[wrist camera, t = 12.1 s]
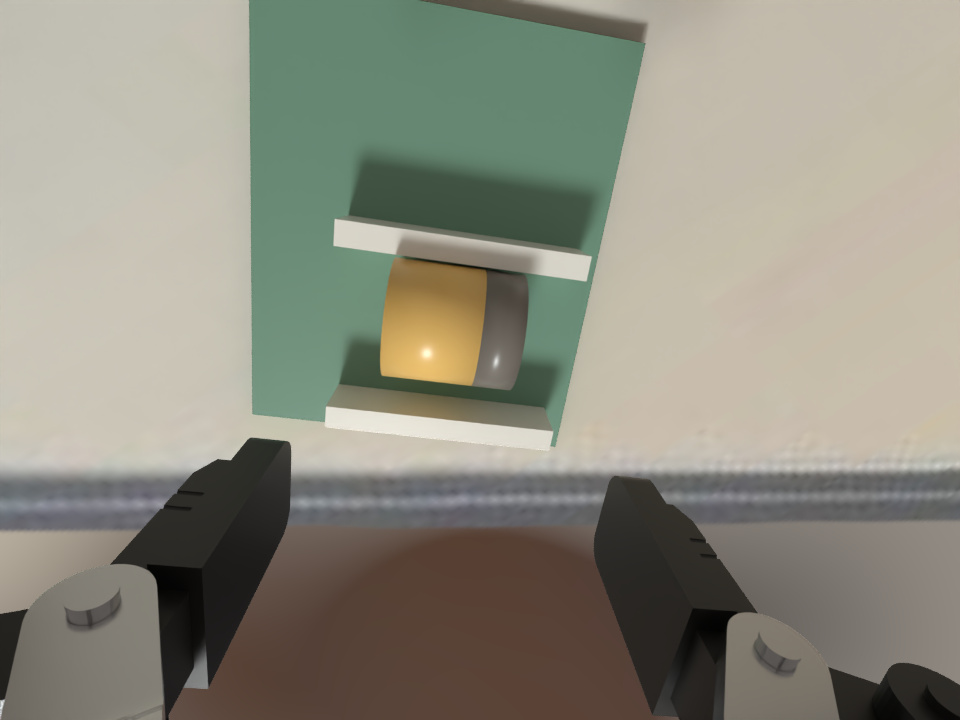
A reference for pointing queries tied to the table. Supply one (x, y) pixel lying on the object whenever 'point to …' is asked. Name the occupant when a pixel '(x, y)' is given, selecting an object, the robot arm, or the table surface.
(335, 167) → the green board
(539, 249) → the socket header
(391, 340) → the amber plug
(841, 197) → the table surface
